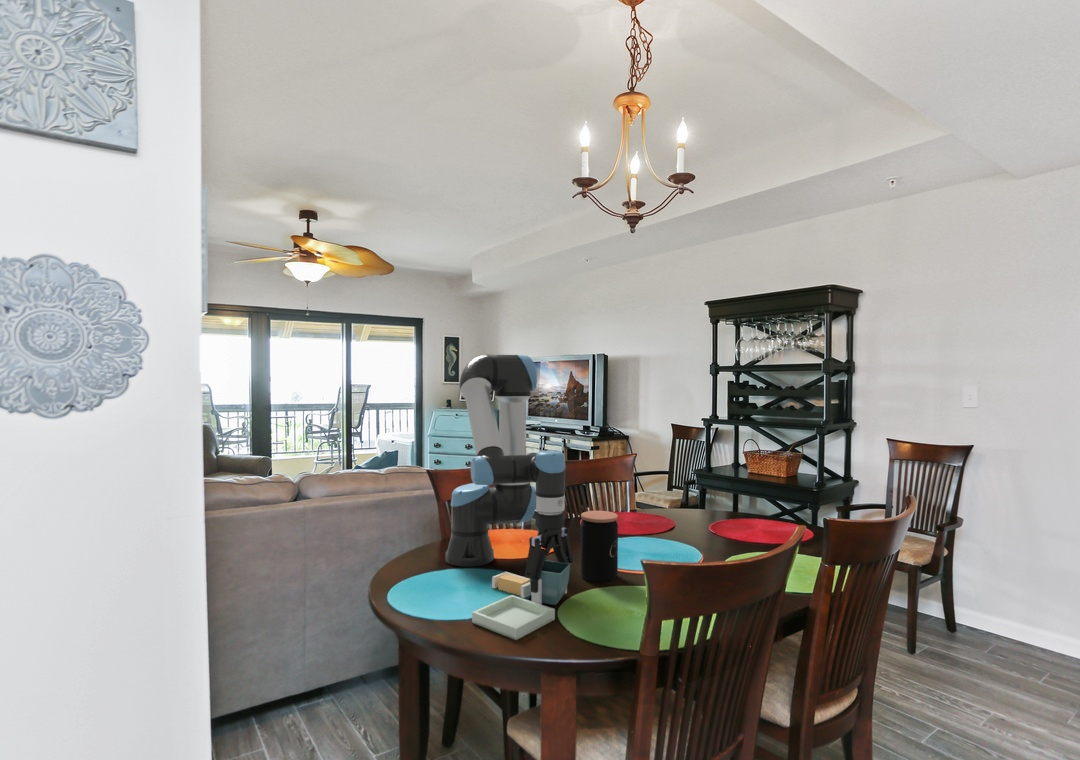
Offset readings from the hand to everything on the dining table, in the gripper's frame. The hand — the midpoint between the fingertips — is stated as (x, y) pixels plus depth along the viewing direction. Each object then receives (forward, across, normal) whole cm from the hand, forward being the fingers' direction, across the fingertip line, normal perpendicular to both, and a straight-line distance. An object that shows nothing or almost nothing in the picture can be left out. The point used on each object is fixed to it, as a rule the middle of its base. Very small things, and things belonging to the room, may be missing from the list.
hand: (549, 598), depth 147 cm
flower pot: (+1, 0, 0) cm, 1 cm away
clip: (+1, 0, +12) cm, 12 cm away
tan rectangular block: (+1, 0, +12) cm, 12 cm away
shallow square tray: (+1, -15, -1) cm, 15 cm away
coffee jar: (+1, +23, 0) cm, 23 cm away
